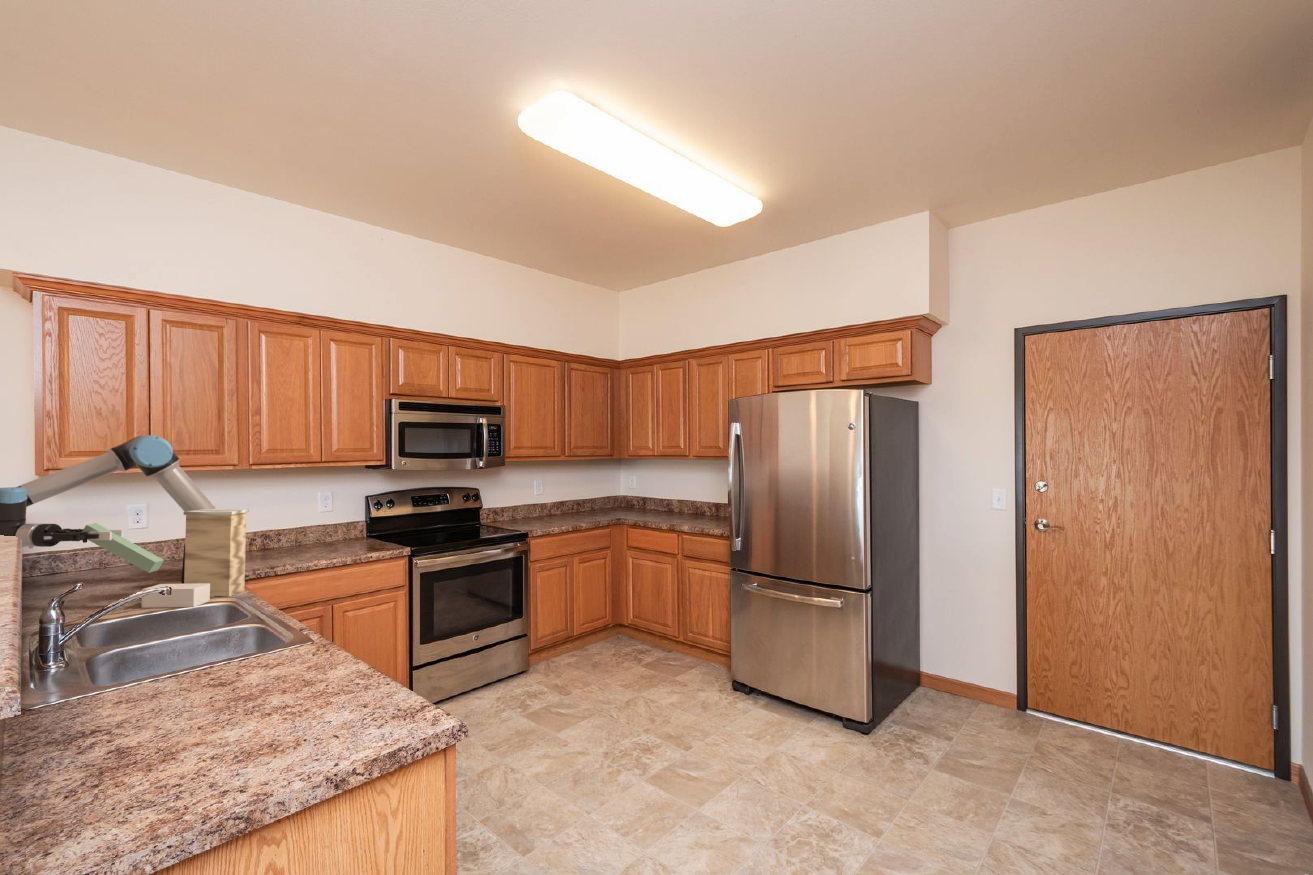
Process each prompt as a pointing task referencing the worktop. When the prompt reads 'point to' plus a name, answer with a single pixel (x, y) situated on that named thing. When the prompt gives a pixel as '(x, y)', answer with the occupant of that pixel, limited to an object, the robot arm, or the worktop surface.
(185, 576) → the tall wooden pillar block
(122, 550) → the pale green rectangular block
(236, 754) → the worktop surface
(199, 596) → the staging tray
